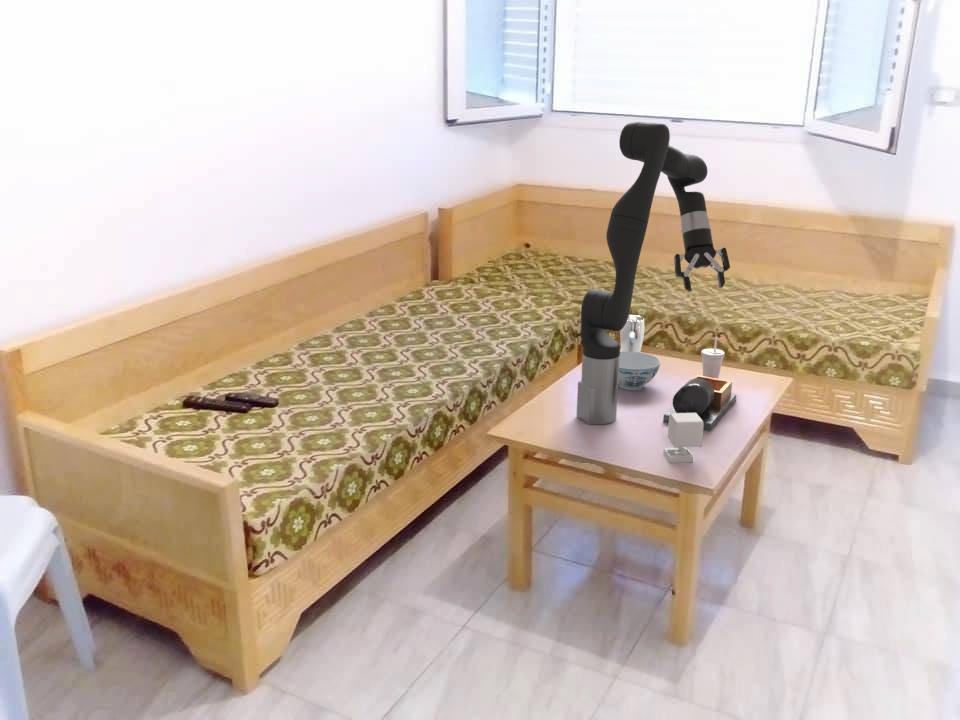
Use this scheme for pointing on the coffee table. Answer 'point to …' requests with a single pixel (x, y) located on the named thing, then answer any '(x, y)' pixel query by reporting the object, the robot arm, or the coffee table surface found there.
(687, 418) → the security camera
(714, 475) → the coffee table surface
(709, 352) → the smoothie
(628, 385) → the chinaware
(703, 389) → the motor mount
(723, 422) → the coffee table surface
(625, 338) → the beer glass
